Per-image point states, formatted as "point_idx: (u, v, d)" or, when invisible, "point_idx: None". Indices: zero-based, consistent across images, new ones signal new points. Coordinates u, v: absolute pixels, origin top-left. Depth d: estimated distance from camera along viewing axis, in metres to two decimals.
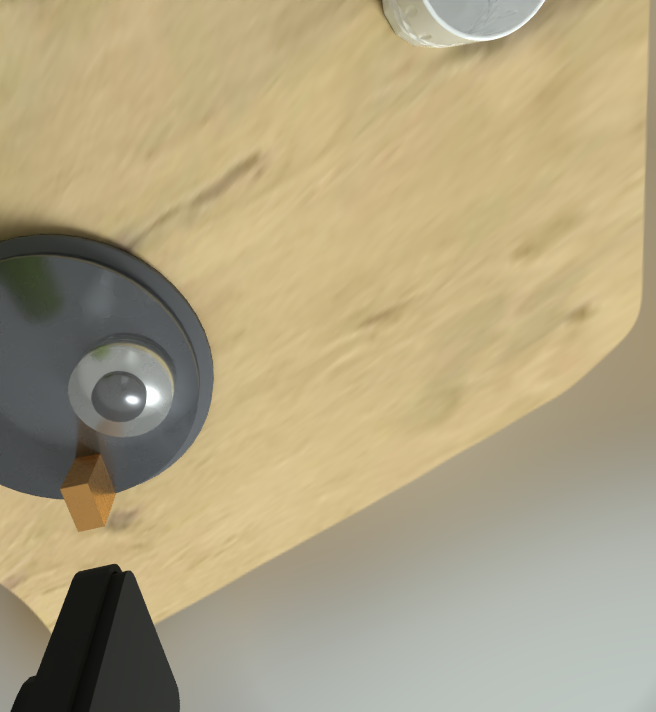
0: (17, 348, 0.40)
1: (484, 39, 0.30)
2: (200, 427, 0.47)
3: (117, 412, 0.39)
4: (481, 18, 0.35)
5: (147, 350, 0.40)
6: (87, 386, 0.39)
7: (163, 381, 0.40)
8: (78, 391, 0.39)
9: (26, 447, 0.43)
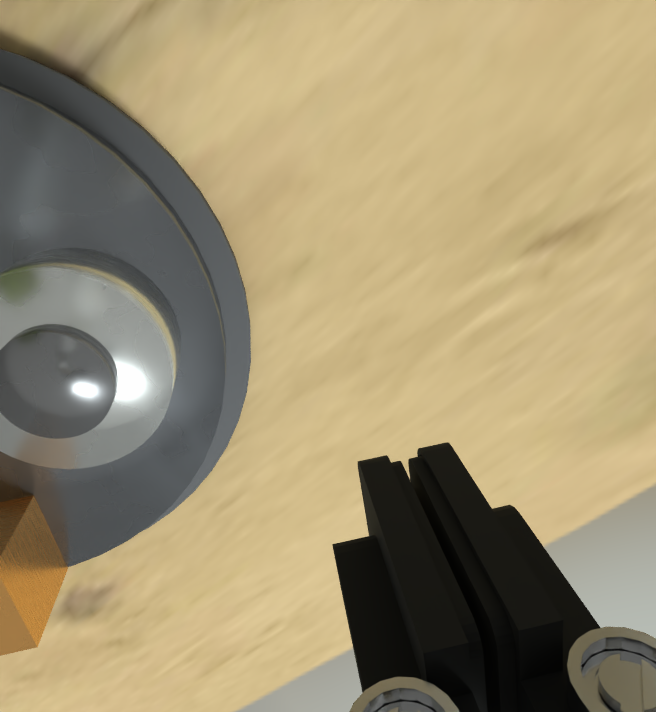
0: None
1: None
2: (225, 442, 0.25)
3: (50, 417, 0.18)
4: None
5: (117, 280, 0.18)
6: None
7: (153, 348, 0.18)
8: None
9: None
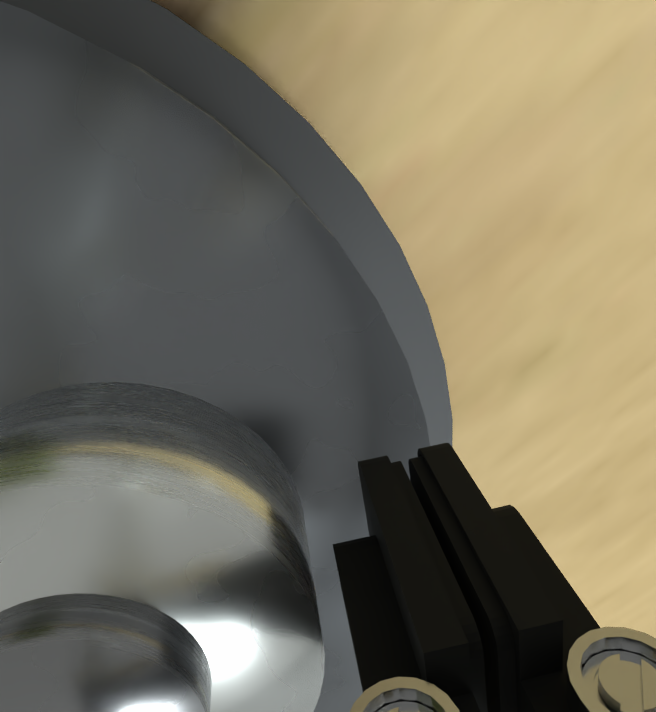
0: None
1: None
2: None
3: None
4: None
5: (209, 475, 0.08)
6: None
7: (289, 622, 0.08)
8: None
9: None
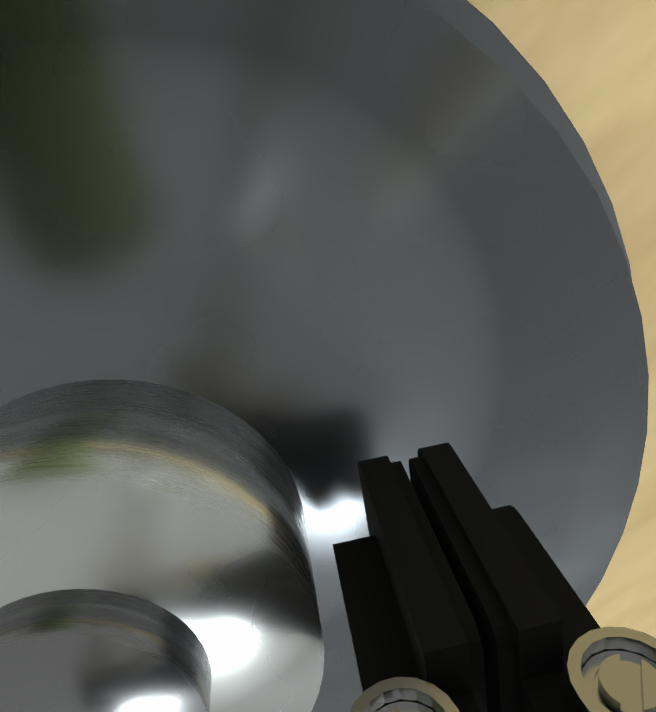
0: None
1: None
2: None
3: None
4: None
5: (214, 473, 0.08)
6: None
7: (290, 620, 0.08)
8: None
9: None
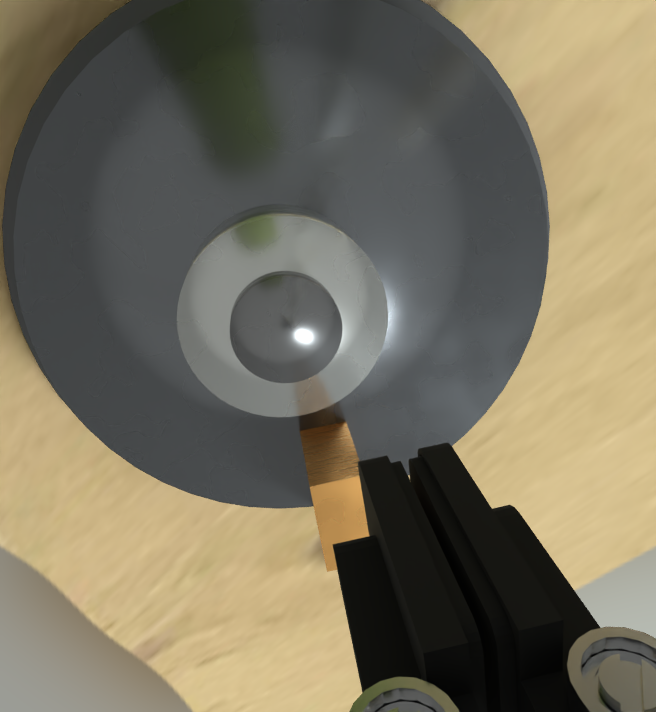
0: (226, 200, 0.20)
1: None
2: None
3: (281, 361, 0.18)
4: None
5: (340, 230, 0.19)
6: (218, 306, 0.18)
7: (374, 295, 0.19)
8: (198, 317, 0.18)
9: (215, 408, 0.23)
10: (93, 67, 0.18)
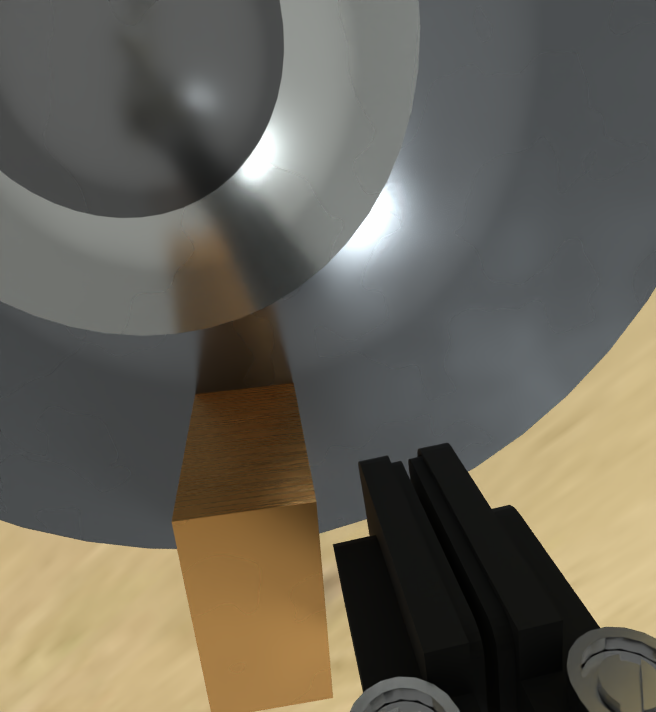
0: None
1: None
2: None
3: (89, 141, 0.06)
4: None
5: None
6: None
7: None
8: None
9: (7, 324, 0.10)
10: None
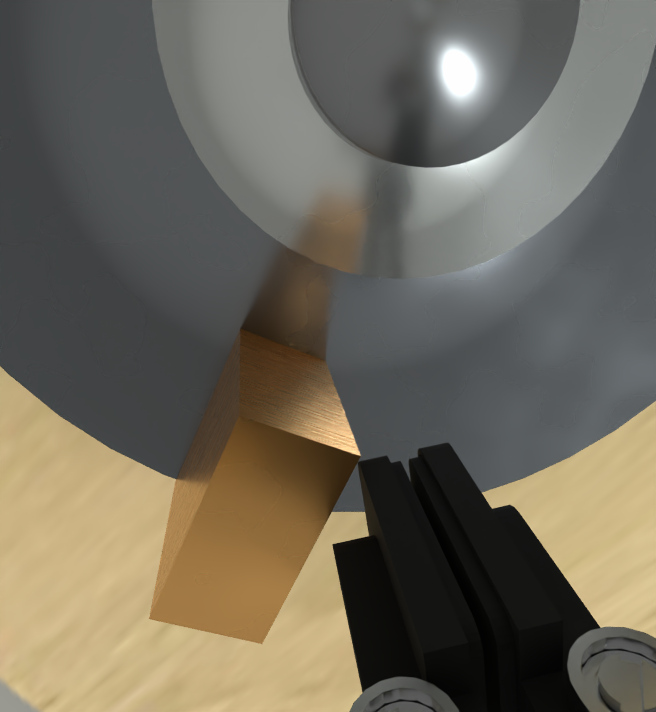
0: None
1: None
2: None
3: (379, 77, 0.07)
4: None
5: None
6: None
7: (611, 103, 0.08)
8: None
9: (118, 182, 0.11)
10: None
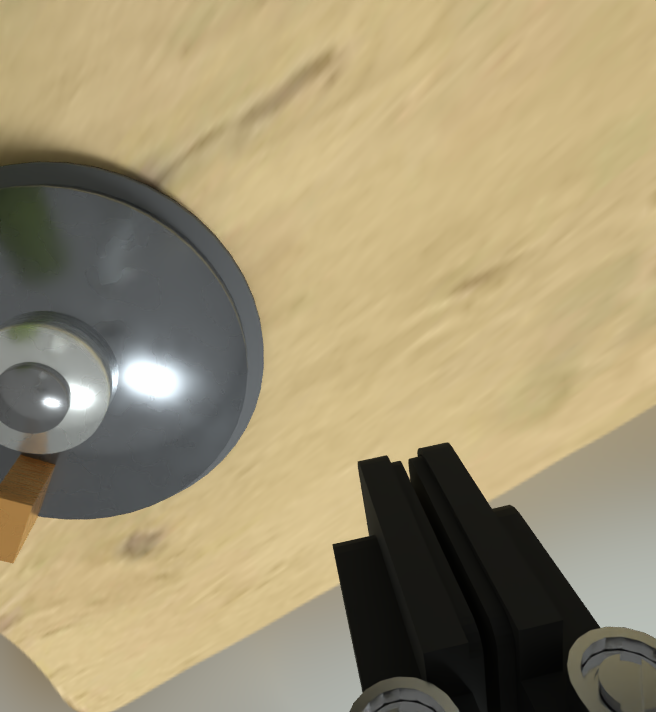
0: (49, 300, 0.30)
1: None
2: (245, 424, 0.36)
3: (16, 415, 0.28)
4: None
5: (101, 361, 0.29)
6: None
7: (97, 407, 0.29)
8: None
9: None
10: (9, 191, 0.28)
